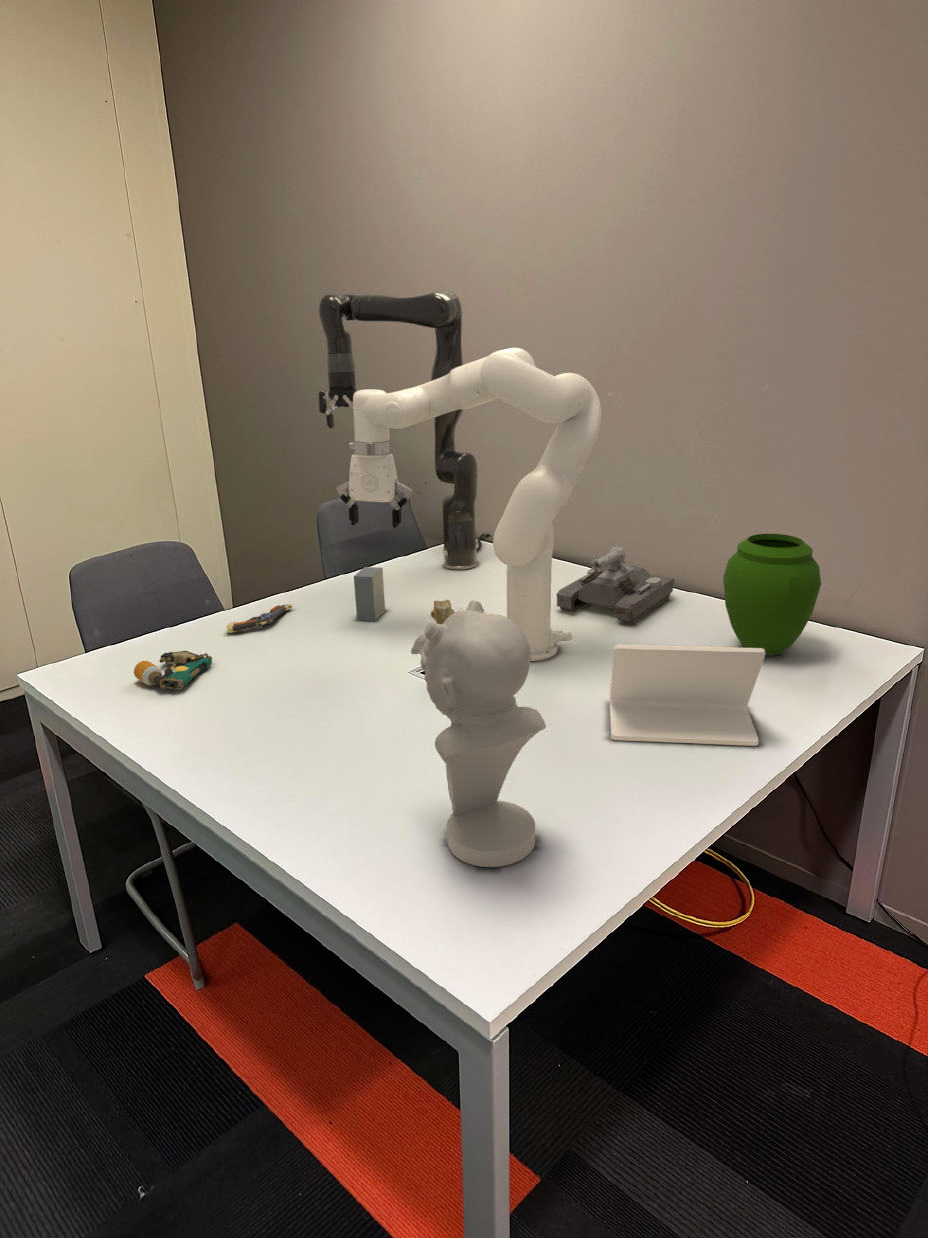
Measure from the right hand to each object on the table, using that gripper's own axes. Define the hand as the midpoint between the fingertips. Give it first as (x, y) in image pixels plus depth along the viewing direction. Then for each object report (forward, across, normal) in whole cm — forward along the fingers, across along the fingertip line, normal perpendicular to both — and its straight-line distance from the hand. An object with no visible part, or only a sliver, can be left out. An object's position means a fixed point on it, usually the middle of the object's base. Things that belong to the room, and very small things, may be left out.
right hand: (375, 524), depth 192 cm
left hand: (-12, -27, +58) cm, 65 cm away
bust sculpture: (+25, +38, -75) cm, 87 cm away
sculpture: (+26, +21, -19) cm, 38 cm away
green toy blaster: (+27, -35, -30) cm, 54 cm away
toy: (+25, +54, +27) cm, 65 cm away
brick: (+26, -6, +11) cm, 29 cm away
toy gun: (+27, -31, +3) cm, 42 cm away
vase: (+24, +87, +2) cm, 90 cm away
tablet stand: (+24, +68, -34) cm, 80 cm away
